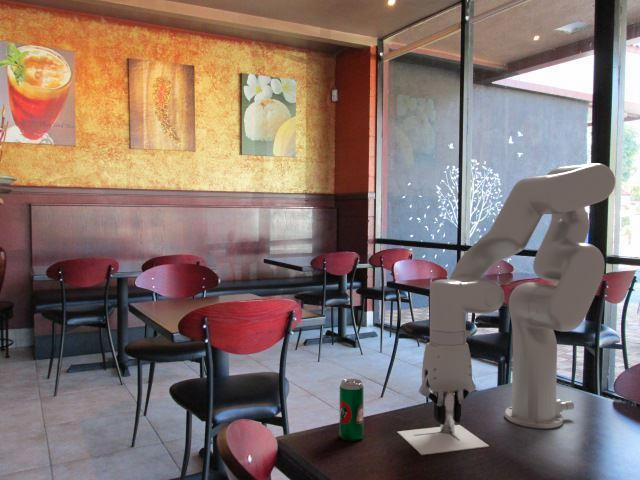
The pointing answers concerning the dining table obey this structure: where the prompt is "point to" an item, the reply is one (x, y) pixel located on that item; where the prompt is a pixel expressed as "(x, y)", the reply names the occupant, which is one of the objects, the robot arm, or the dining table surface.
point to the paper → (441, 440)
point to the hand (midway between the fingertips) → (447, 420)
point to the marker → (449, 412)
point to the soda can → (351, 409)
